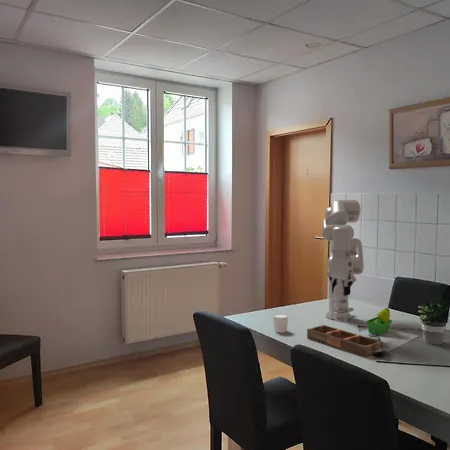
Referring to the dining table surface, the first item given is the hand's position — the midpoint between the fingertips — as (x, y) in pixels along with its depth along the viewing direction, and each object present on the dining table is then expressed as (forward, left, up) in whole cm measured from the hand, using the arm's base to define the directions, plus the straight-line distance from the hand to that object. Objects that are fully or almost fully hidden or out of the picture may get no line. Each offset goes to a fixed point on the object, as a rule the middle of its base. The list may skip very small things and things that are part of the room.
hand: (341, 293), depth 207 cm
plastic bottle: (0, 0, -13) cm, 13 cm away
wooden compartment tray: (+13, +12, -18) cm, 25 cm away
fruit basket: (-15, +10, -18) cm, 25 cm away
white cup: (+20, -18, -18) cm, 32 cm away
